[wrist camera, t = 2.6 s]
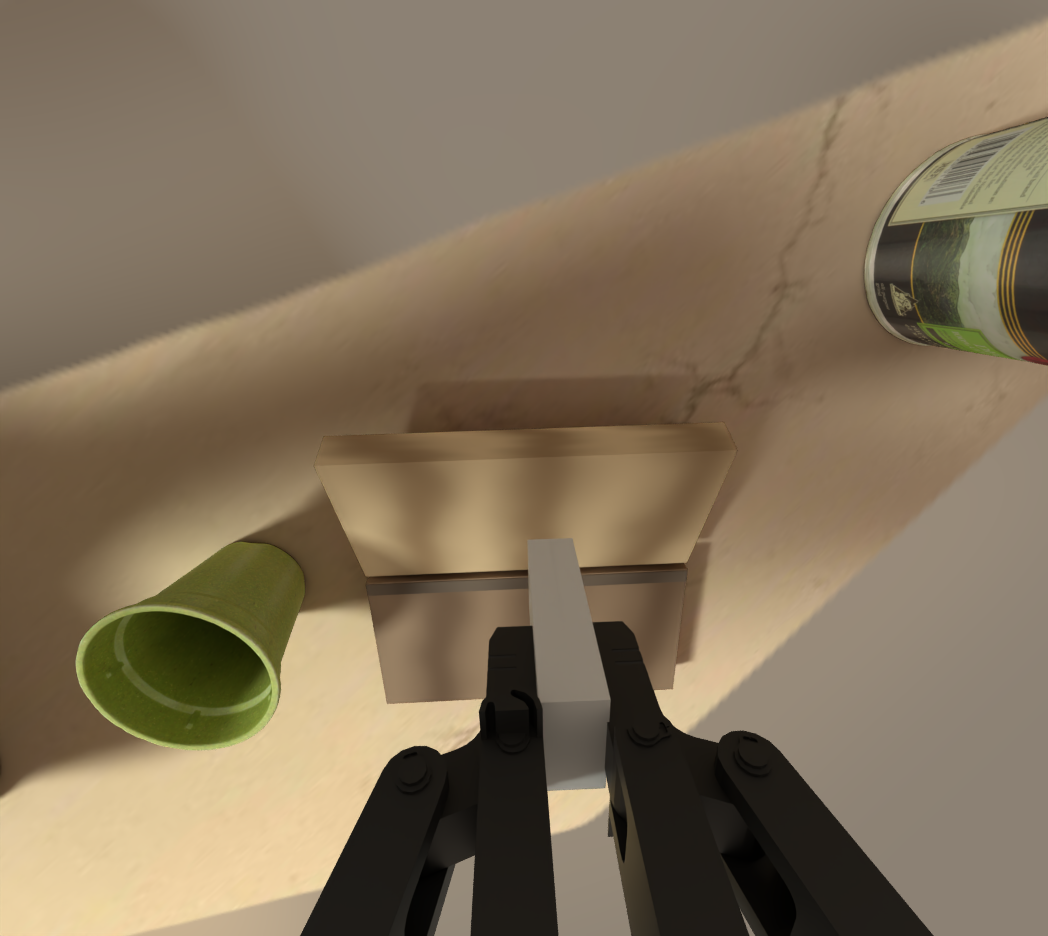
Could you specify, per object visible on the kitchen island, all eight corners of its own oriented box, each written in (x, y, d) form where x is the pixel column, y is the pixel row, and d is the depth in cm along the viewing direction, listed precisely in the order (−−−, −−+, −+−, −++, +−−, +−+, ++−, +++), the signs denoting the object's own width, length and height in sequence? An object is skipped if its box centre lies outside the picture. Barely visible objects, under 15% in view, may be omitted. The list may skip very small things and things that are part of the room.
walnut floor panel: (393, 681, 36) (386, 704, 34) (373, 565, 32) (365, 583, 30) (663, 667, 36) (672, 689, 34) (676, 551, 32) (687, 569, 30)
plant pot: (363, 584, 32) (317, 688, 24) (270, 658, 34) (200, 777, 26) (247, 488, 29) (152, 569, 21) (154, 575, 31) (34, 680, 23)
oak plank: (371, 549, 31) (365, 576, 30) (323, 436, 24) (313, 465, 23) (678, 536, 32) (686, 562, 31) (723, 422, 25) (737, 450, 23)
